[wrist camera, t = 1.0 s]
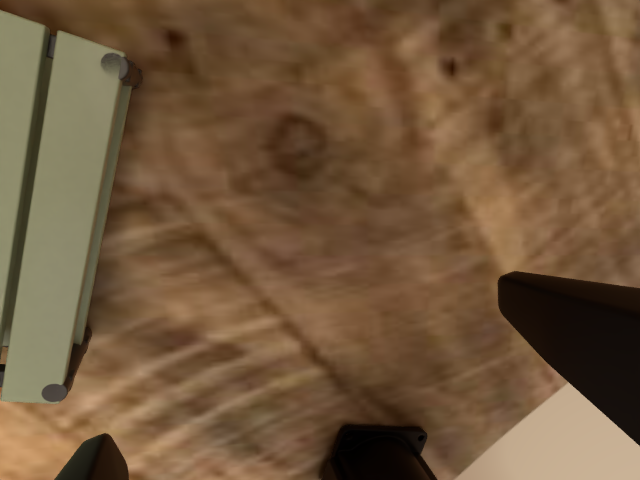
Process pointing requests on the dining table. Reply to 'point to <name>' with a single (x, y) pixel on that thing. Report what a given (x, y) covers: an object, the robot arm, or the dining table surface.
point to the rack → (53, 196)
